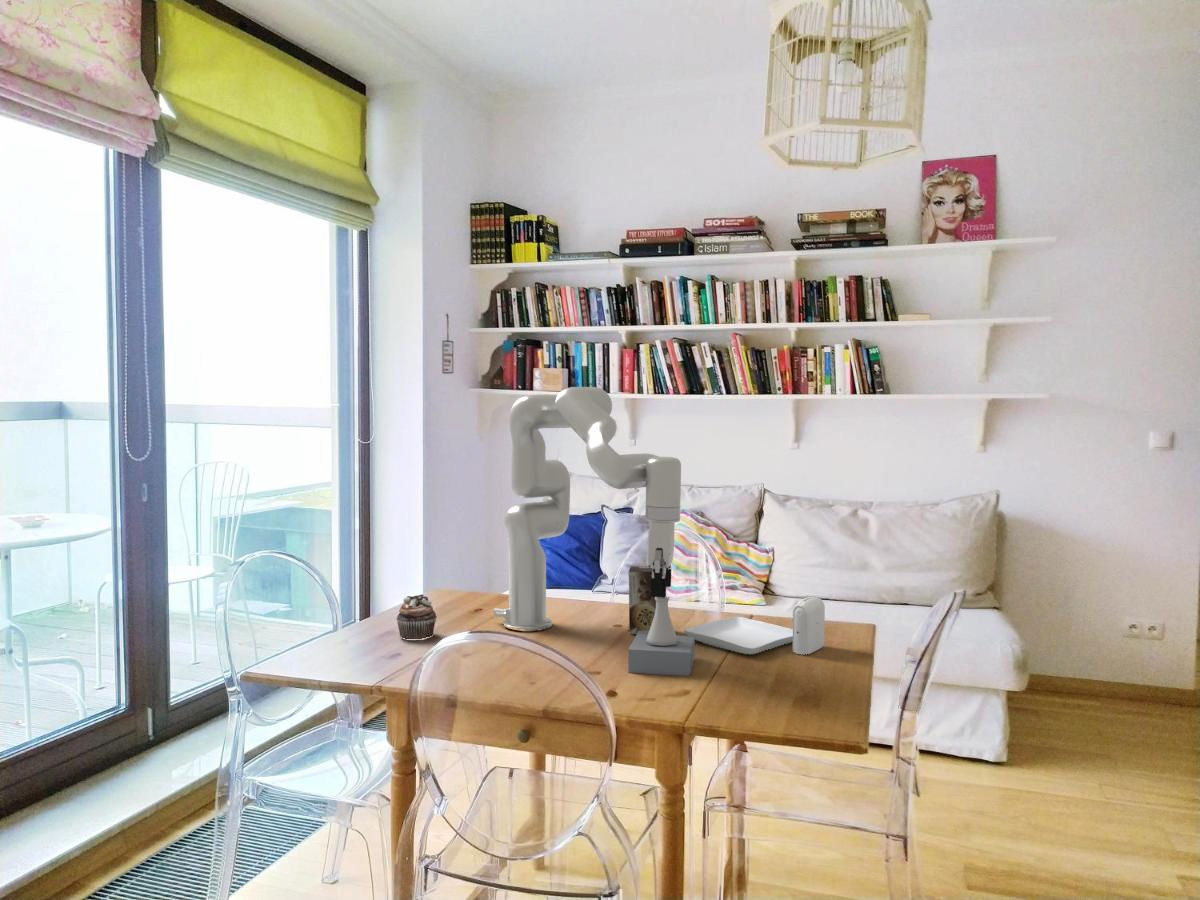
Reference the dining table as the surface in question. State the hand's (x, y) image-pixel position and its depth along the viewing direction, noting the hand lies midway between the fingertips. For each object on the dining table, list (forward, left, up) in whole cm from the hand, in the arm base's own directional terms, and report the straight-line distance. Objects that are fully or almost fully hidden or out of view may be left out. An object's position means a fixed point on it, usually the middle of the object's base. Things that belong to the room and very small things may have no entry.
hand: (661, 591), depth 194 cm
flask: (0, 0, -12) cm, 12 cm away
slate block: (0, 0, -16) cm, 16 cm away
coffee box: (-7, +27, -17) cm, 32 cm away
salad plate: (+17, +22, -17) cm, 33 cm away
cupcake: (-62, +12, -17) cm, 65 cm away
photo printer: (+32, +18, -17) cm, 40 cm away
